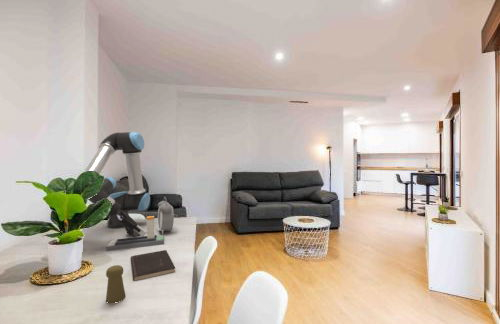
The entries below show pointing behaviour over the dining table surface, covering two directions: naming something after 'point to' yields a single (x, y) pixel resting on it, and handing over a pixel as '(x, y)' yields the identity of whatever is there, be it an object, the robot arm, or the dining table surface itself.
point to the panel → (134, 242)
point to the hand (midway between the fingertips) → (144, 234)
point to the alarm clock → (165, 216)
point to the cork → (115, 284)
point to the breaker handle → (150, 227)
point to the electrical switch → (130, 232)
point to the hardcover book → (151, 265)
